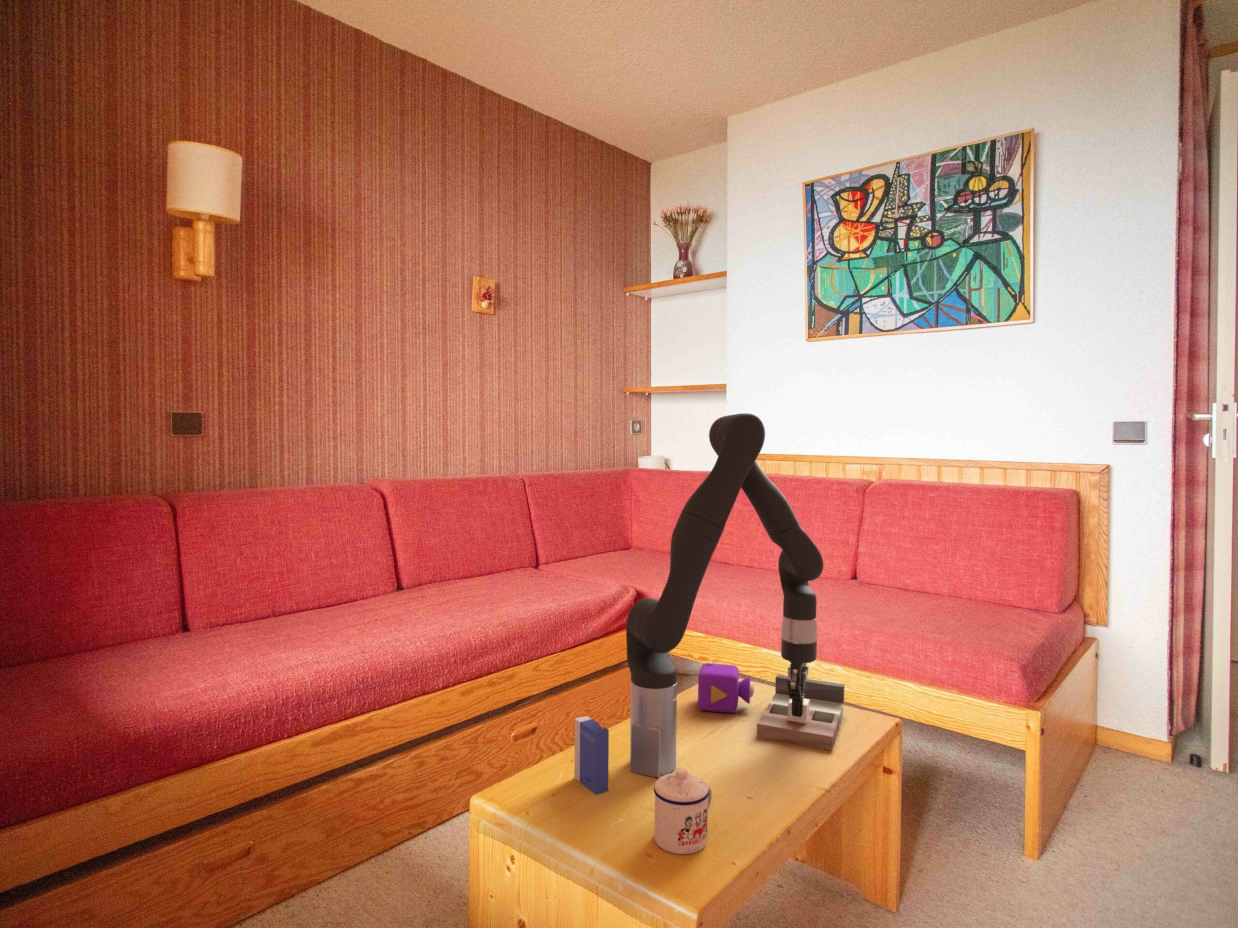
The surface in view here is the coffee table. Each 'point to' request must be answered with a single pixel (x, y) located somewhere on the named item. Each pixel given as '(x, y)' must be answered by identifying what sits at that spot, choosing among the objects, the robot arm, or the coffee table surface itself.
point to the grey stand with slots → (821, 715)
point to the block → (804, 716)
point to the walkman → (591, 754)
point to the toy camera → (722, 688)
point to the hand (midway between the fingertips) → (797, 715)
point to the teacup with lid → (681, 812)
